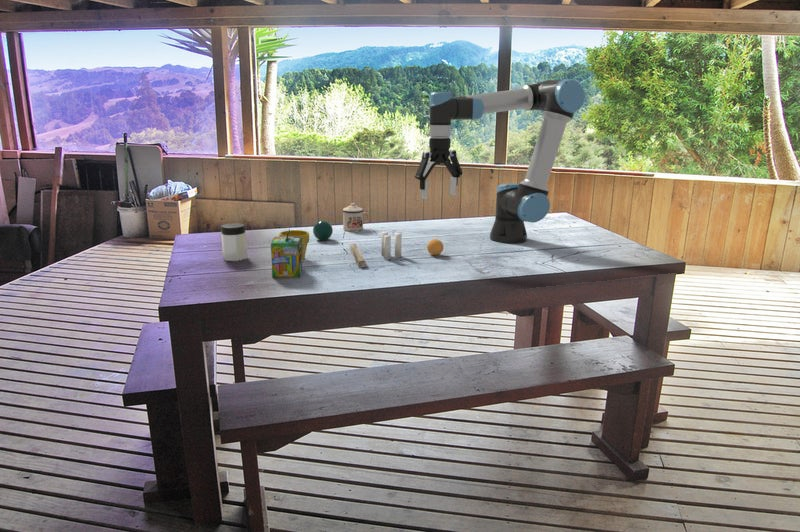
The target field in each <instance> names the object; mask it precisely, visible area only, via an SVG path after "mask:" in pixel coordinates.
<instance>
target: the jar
mask: <svg viewBox="0 0 800 532" xmlns="http://www.w3.org/2000/svg"><path fill="white" fill-rule="evenodd" d="M220 231H221V232H220V237H221V239H220V240H221V251H222V258H223V260H224V261H225V262H240V261H243V259H244V260H247V259H248V248H247V247H248V246H247V244H248V243H247V233H246V226H245V224H244V223H239V222H234V223H233V222H231V223H224V224H222V225H220ZM239 260H240V261H239Z"/></svg>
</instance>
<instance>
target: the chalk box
mask: <svg viewBox="0 0 800 532" xmlns="http://www.w3.org/2000/svg"><path fill="white" fill-rule="evenodd" d="M290 230H291V229H290V228H289V229H288V230H287V231H288V233H287V237H279V236H274V237H273V239H272V241H271V243H270V253H271V254H270V255H271V258H270V259H271V278H273V279H274V278H301V275H302V272H303V261H302V237H288V236H289V231H290Z"/></svg>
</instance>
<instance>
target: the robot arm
mask: <svg viewBox="0 0 800 532" xmlns="http://www.w3.org/2000/svg"><path fill="white" fill-rule="evenodd" d="M585 94H586V92H585V90H584V87H583V85H582V84H581V82H579V81H578V80H576V79H569V78H563V79H549V80H544V81H543V80H542V81H541V82H537V83H531V84H526V85H523V86H522V88H516V89H510V90H509V89H508V90H501V91H493V92H487V93H478V94H471V95H464V96H463V95H462V96H456V97H453V96H452V92H450V91H434V92H433V91H432V92H431V93H430V96H429V97H430V98H429V107H428V108H429V134H428V135H429V137H430V138H429V142H428V143H429V145H428V146H429V147H428V148H429V150H430V151H429V152H428V151H423V152H422V154H421V155H422V157H421V160H420V163H419V166H418V168H417V170H416V173H415V175H414V178H415V179H417V180H418V181H419V190H420V199H423V200H428V187H429V186H428V183H429V182H428V180H427V178H428V177H429V175H430V174H431V172H432V171H433V169H434V167H435V166H437V165H441V164H443V165H445V167H446V169H447V170H448V172H449V173H450V175H451V177H450V178H449V179H450V180H449V181H450V182H449V195H451V196H457V187H458V182H459V178H461V176H462V175H463V170H462V168H461V165H460V162H459V159H458V157H457V150H456V149H455V150H454V149H450V148H451V138H450V137H451V135H452V132H451V130H452V126H451V125H452V121H456V120H457V121H458V120H460V121H462V120H465V121H467V120H469V121H471V120H472V121H473V120H480V119H481V118H483V115H485V114H486V115H487V114H495V113H499V112H500V113H502V112H508V111H515V110H516V111H517V110H524V111H525V112H528V111H541V115H542V117H543V120H542V123H541V127H540V129H539V133H538V135H537V140H536V142H535V146H534V149H533V152H532V156H531V159H530V161H529V165H528V167H527V170H526V174H525V177H524V180H522V181H520V182H519V183H505V184H502V183H501V184H499V185H498V186H497V189H496V193H495V194H496V200H495V201H496V202H495V217H494V218H495V220H494V222H493V225H492V227H491V230H490V232H489V233H490V234H489V239H490V240H491V241H494V242H499V243H505V244H517V243H524V242H526V241H527V239H528V233H527V230H526V229H527V228H526V225H525V222H527V223H538V222H540V221H541V220H542V221H543V219H544V218H546V216H547V214H548V213H549V211H550V207H551V203H550V200H549V198H548V196H549V192H550V190H549V188H548V182H549V179H550V176H551V172H552V170H553V167H554V163H555V160H556V158H557V154H558V151H559V149H560V145H561V141H562V138H563V135H564V132H565V129H566V126H567V124H568V123H569V122H571V121H573V118H574V115H575V113H576V112H578V111H579V110H580V109H581V108H582V107H583V105H584V103H585V98H586V95H585Z"/></svg>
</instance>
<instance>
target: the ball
mask: <svg viewBox="0 0 800 532" xmlns="http://www.w3.org/2000/svg"><path fill="white" fill-rule="evenodd" d="M426 249H427V251H428V253H429V254H430V255H432V256H439V255H441V254H442V253H443V251H444V244H443V242H442V241H441V240H440V239H437V238H433V239H431V240H430V241H428V243H427V246H426Z"/></svg>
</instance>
